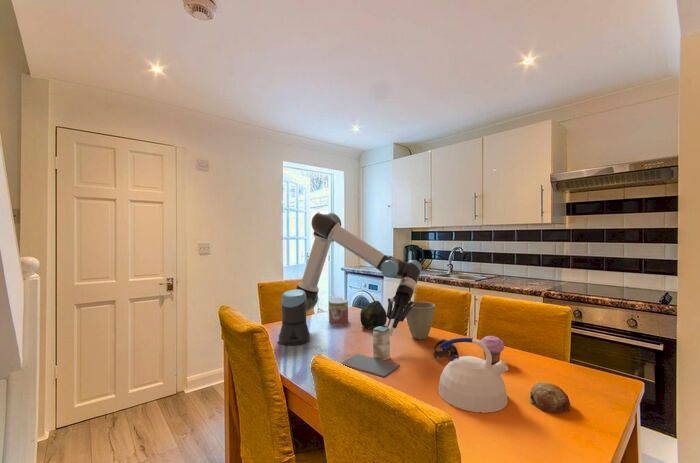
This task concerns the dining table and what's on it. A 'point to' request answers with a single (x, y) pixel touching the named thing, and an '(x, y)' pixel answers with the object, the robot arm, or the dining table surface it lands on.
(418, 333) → the plant pot
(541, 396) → the brown rounded lump
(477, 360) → the kettle
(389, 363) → the mat
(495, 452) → the dining table surface
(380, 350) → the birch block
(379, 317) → the squash
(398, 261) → the robot arm
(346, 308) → the canned food
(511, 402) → the dining table surface
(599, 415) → the dining table surface
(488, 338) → the cupcake
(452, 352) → the vr controller
